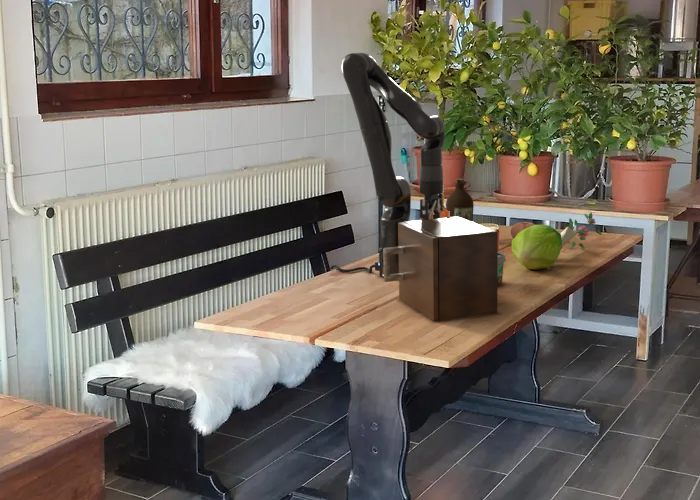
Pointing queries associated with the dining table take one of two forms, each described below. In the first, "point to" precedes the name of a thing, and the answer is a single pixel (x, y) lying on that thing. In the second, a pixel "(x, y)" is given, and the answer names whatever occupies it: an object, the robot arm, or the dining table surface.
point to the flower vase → (582, 231)
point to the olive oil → (460, 202)
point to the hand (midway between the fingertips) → (431, 227)
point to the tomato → (519, 228)
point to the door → (415, 269)
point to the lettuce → (537, 246)
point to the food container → (500, 268)
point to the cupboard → (464, 266)
